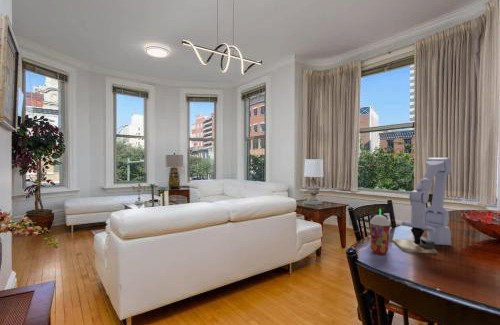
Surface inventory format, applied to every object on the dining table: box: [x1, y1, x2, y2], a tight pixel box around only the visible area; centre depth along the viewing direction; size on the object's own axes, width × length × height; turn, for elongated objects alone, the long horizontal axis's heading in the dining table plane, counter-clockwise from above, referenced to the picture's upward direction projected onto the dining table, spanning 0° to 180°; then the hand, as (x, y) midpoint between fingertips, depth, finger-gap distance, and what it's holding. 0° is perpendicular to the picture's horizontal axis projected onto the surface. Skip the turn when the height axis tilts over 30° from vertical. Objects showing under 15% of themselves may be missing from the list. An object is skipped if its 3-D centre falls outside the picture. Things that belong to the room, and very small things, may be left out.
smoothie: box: [369, 208, 391, 256], centre depth 121 cm, size 8×8×20 cm
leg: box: [413, 235, 436, 249], centre depth 130 cm, size 12×4×3 cm, turn 175°
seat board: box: [391, 238, 438, 255], centre depth 130 cm, size 14×16×1 cm
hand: (417, 243), depth 129 cm, fingers closed, pressing on leg
